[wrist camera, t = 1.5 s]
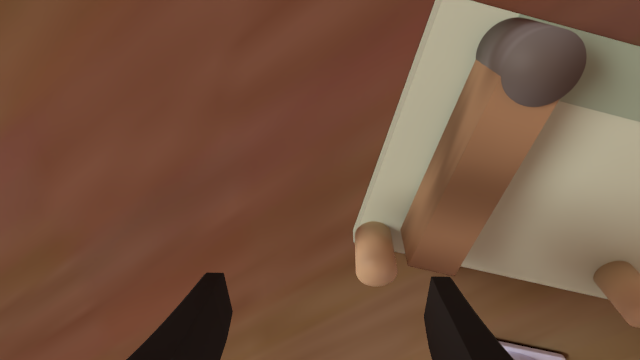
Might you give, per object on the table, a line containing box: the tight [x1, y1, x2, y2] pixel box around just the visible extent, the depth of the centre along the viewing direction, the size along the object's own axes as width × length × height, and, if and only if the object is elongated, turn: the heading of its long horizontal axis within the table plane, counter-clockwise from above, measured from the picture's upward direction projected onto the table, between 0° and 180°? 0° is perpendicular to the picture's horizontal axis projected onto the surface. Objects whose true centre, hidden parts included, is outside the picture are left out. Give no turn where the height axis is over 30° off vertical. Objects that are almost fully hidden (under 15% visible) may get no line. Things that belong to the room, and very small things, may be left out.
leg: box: [400, 17, 587, 276], centre depth 17 cm, size 12×3×3 cm, turn 167°
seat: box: [353, 0, 640, 328], centre depth 18 cm, size 14×18×4 cm
